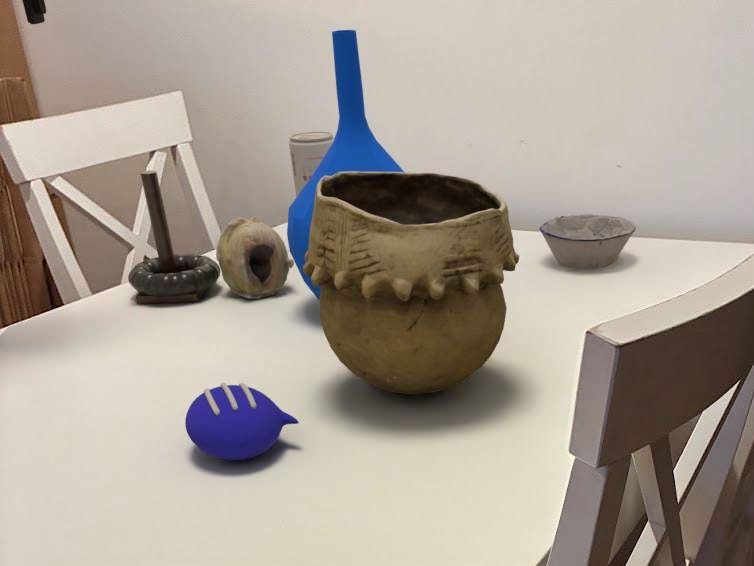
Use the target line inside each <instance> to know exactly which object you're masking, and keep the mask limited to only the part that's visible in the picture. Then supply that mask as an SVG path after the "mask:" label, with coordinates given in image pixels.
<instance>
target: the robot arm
mask: <svg viewBox="0 0 754 566" xmlns="http://www.w3.org/2000/svg"><path fill="white" fill-rule="evenodd" d="M21 1H22V4H23V9H24V12H25V16H26V20H27V23H28V24H30V25H39V24H42V23H45V21H46V20H45V14H46V13H47V6H46V2H45V0H21Z"/></svg>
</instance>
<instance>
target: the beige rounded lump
mask: <svg viewBox="0 0 754 566" xmlns="http://www.w3.org/2000/svg"><path fill="white" fill-rule="evenodd" d="M215 257H216V260H217V262H218V265H219V267H220V271H221V276H222V279H223V281H224V283H225V284H226V285H227V286H228V287H229V289H230V290H231V292H232V293H233V294H235V295H237V296H241V297H243V298H246V299H255V300H256V299H257V300H260V299H262V298H265V297H269V296H274V295H276V294H277V291H278V290H280V289H281V288H282V287H283V286H284V285H285V284H286V282H287V280H288V275H289V272H290V269H292V268H293V267H294V265H295V261H294V259H293V258H290V257H289V254H288V250H287V246H286V244H285V242H284V240H283V238H282V237H281V235H280V234H279V233H278V232H277V231H276V230H275V229H273V228H272V227H270V226H269V225H267V224H266V223H264V222H262V221H261V219H260V218H258V217H257V216H255V215H254V216H252V217H250V218H249V219H247V218H244V217H239V216H238V217H236V218H234V219H231V221H229V223H228V224H227V225H226V226H225V227H224V229H223V230H222V231H221V234H220V235H219V238H218V241H217V243H216V251H215Z"/></svg>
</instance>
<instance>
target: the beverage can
mask: <svg viewBox="0 0 754 566" xmlns="http://www.w3.org/2000/svg"><path fill="white" fill-rule="evenodd" d="M334 138H335V137H334V133H333V132H330V131H323V130H322V131H321V130H320V131H319V130H318V131H313V130H312V131H303V132H297V133H293V134H290V135H289V142H288V144H289V145H288V146H289V155H290V160H291V168H292V176H293V183H294V191H295V198H296V197H297V196H298V195H299V193H300V192H301V191H302V189H303V188H304V186H305V185H306V184H307V182H308V181H309V180H310V178H311V177H312V175H313V174H314V172H315V171H316V169H317V167H318V166H319V164H320V163H321V161H322V159H323V158H324V156H325V155H326V153H327V151H328V150H329V148H330V147H331V145H332V143H333V141H334Z"/></svg>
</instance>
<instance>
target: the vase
mask: <svg viewBox="0 0 754 566" xmlns="http://www.w3.org/2000/svg"><path fill="white" fill-rule="evenodd" d="M331 36H332V37H331V38H332V48H333V49H332V50H333V62H334V74H335V86H336V87H335V89H336V98H337V107H338V116H339V118H338V123H337V130H336V133H335V135H334V137H333V138H334V141H333V143H332V145H331V147H330V148H329V150H328V151H327V153H326V155H325V156H324V158H323V159H322V161H321V163H320V164H319V166H318V167H317V169H316V171H315V172H314V174H313V175H312V177H311V178H310V180H309V181H308V182H307V184H306V185H305V186H304V188H303V189H302V191H301V192H300V193H299V195H298V196H297V197H296V196H295V199H294V200H293V201H292V203H291V204H290V206H289V207H288V212H287V227H286V228H287V229H286V236H287V241H288V248H289V253H290V255H291V257H292V260H293V261H294V264H295V265H296V268H297V270H298V272H299V274H300V276H301V278H302V281H303V282H304V283H305V285H306V286H307V288H309V289H310V291H311V293H313V295H314V296H315V297H316V298H317V300H318V301H319V302H320V290H321V286H317V287H315V286H314V285H313V284H312V281H311V277H310V276H308V275H305V273H304V271H303V266H304V265H305V264H306V262H305V260H304V259H305V254H306V252H307V251H308V250H309V235H310V227H311V221H312V217H313V209H314V200H315V194H316V188H317V184H318V182H319V181H320V179H321V178H322V177H324V176H325V175H327V176H333V175H334V174H336V173H338V172H347V171H356V172H405V170H403V168H402V167H401V166H400V165H399V164H398V163H397V161H396V160H395V159H394V158H393V157H392V155H390V153H388V151H387V150H386V149H385V148H384V147H383V146H382V145H381V143H380V142H379V141H378V140H377V139H376V137H375V136H374V133H373V132H372V129H371V128H370V126H369V123H368V120H367V117H366V110H365V100H364V99H365V98H364V89H363V79H362V72H361V62H360V54H359V53H360V52H359V46H358V37H357V30H355V29H339V30H333V31H331Z"/></svg>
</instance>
